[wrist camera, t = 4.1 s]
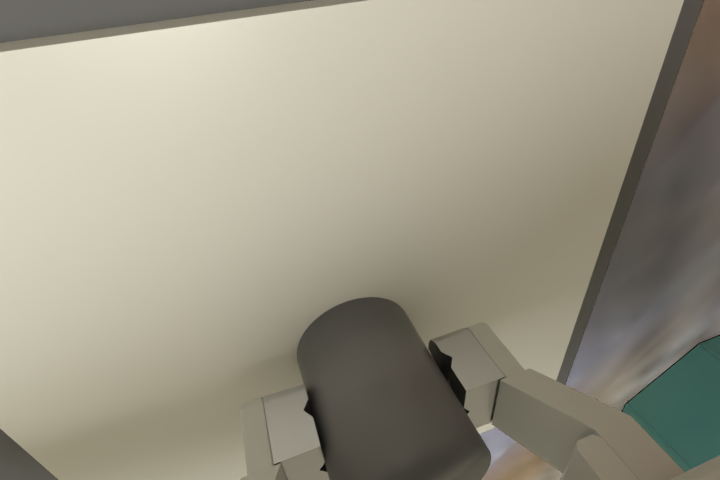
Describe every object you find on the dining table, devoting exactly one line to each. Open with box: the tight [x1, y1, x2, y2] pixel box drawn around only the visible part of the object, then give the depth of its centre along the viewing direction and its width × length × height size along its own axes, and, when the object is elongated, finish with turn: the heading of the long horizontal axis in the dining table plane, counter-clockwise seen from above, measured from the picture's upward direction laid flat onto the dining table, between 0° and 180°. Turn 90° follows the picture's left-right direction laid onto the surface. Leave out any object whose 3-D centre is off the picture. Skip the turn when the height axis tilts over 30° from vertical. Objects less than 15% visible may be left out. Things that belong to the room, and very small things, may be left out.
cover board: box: [0, 0, 684, 480], centre depth 10 cm, size 16×16×5 cm
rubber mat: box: [0, 0, 704, 480], centre depth 12 cm, size 20×20×1 cm
